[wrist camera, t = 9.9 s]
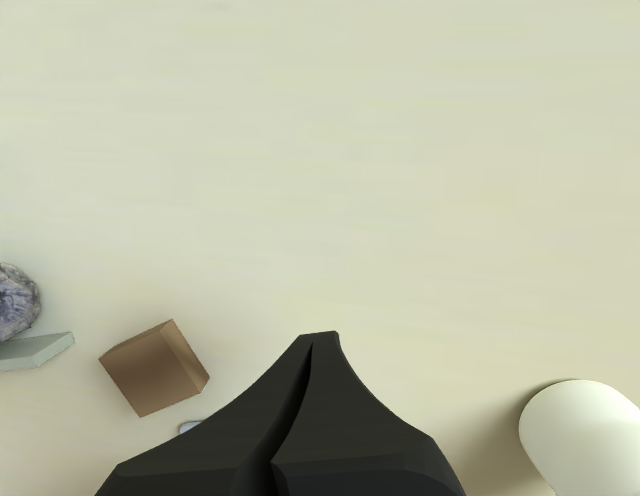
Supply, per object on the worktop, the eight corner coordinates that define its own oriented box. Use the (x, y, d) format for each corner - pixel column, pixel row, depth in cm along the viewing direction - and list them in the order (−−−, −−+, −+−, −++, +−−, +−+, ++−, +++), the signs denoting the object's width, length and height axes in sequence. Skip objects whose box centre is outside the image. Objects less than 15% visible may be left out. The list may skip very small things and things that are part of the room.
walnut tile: (211, 374, 24) (200, 392, 22) (156, 398, 25) (140, 418, 23) (174, 316, 23) (159, 330, 21) (118, 343, 24) (98, 359, 22)
